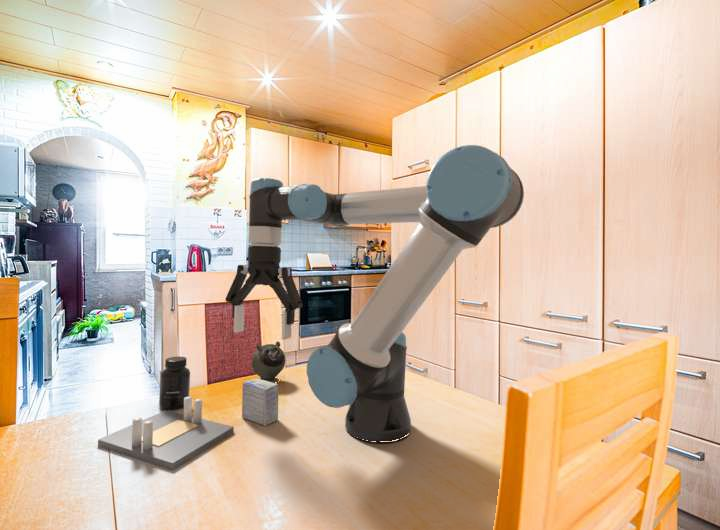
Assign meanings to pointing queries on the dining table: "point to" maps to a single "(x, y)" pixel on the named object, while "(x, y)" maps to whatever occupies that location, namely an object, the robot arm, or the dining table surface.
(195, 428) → the pin tray
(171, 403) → the supplement bottle
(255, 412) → the medicine box
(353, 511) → the dining table surface
